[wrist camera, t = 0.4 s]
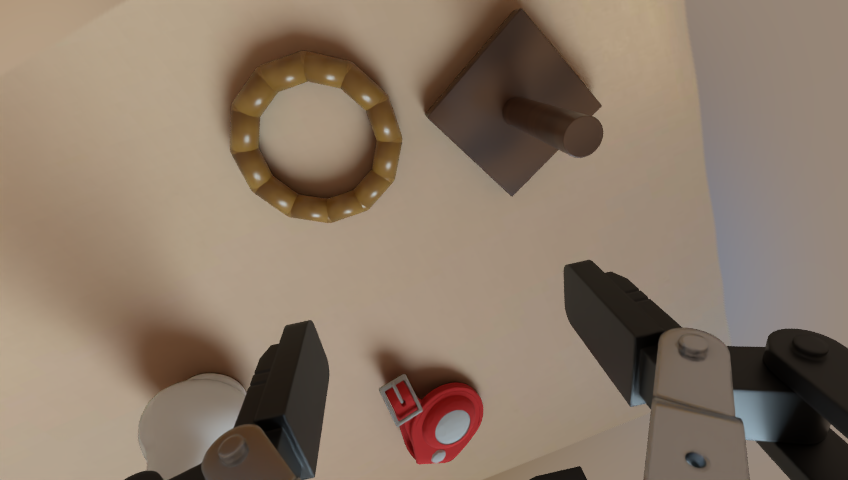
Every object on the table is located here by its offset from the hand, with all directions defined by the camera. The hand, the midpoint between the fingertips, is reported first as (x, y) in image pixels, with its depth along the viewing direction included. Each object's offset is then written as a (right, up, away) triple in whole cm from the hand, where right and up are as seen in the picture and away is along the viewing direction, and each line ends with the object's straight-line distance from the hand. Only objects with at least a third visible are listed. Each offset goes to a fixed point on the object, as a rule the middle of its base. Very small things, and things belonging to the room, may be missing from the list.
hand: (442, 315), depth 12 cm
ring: (-8, +9, +15) cm, 20 cm away
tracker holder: (0, -14, +28) cm, 32 cm away
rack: (+6, +12, +17) cm, 22 cm away
